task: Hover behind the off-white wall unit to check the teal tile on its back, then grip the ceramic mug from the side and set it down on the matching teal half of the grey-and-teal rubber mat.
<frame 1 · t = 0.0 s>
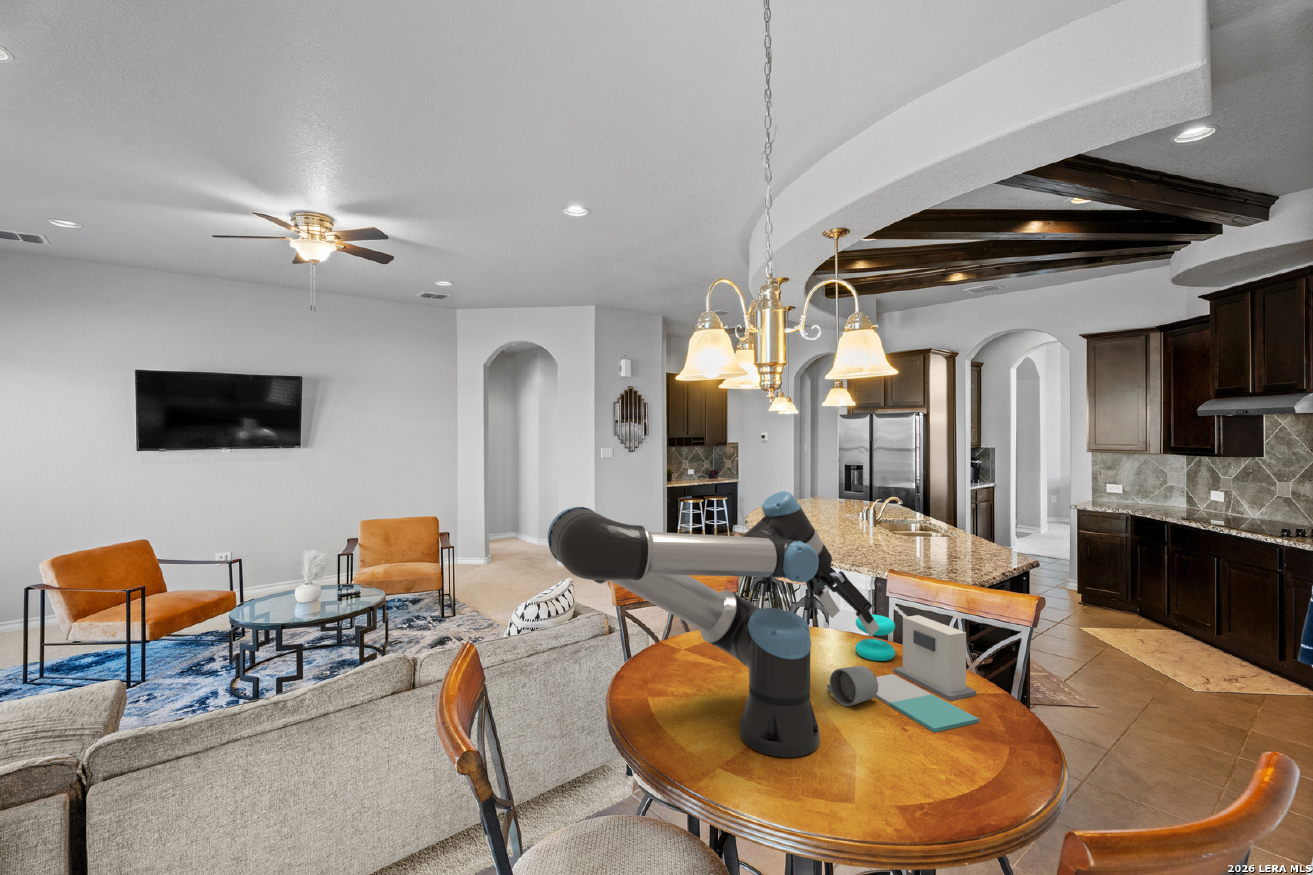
hand: (854, 622, 134), 15 cm above the table, tool tilted 35°, fingers open, 13 cm apart
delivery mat: (911, 701, 127), on the table
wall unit: (933, 683, 137), on the table
ceramic mug: (848, 700, 129), on the table
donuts: (875, 656, 155), on the table
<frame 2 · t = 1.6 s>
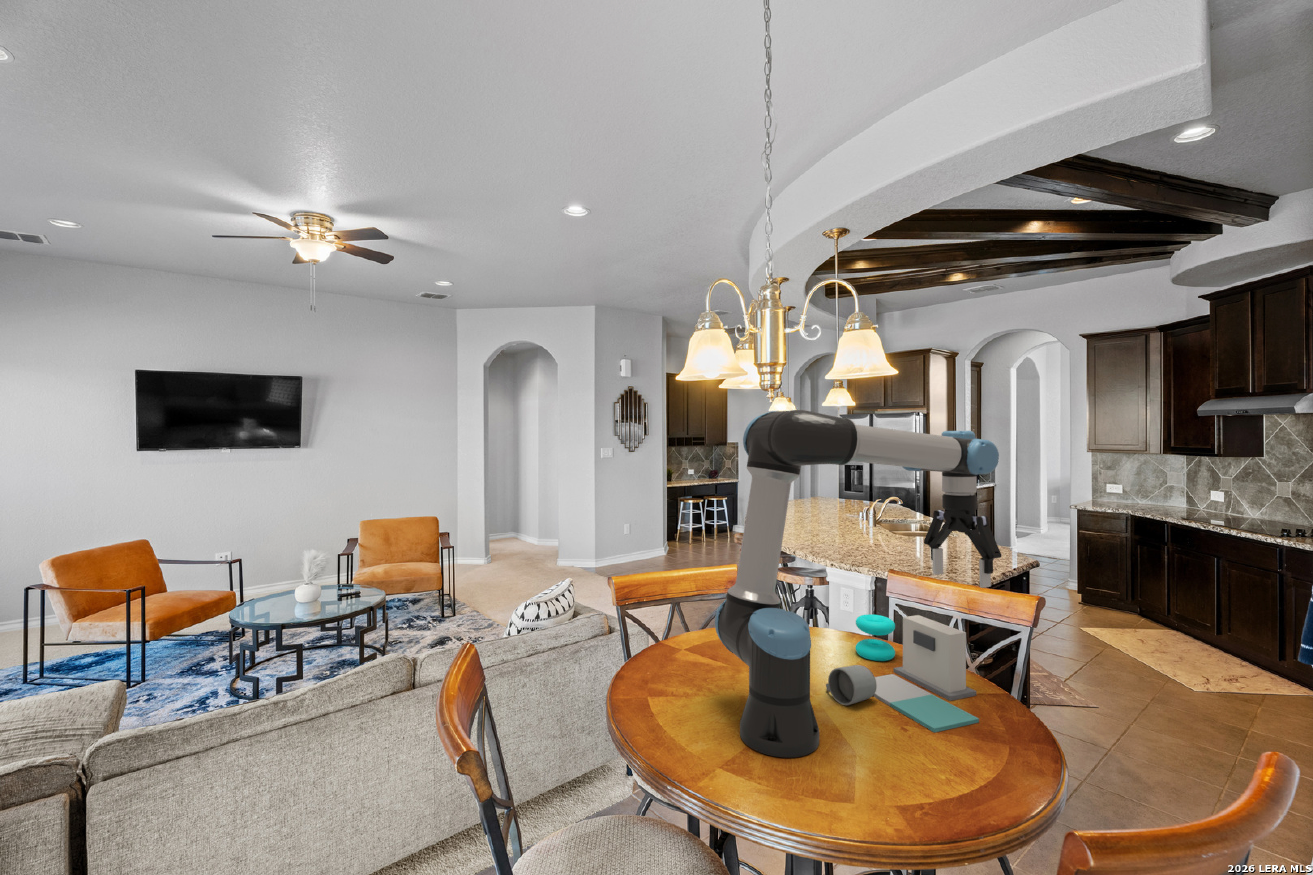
hand: (960, 580, 141), 24 cm above the table, tool pointing down, fingers open, 13 cm apart
nothing on the table moved.
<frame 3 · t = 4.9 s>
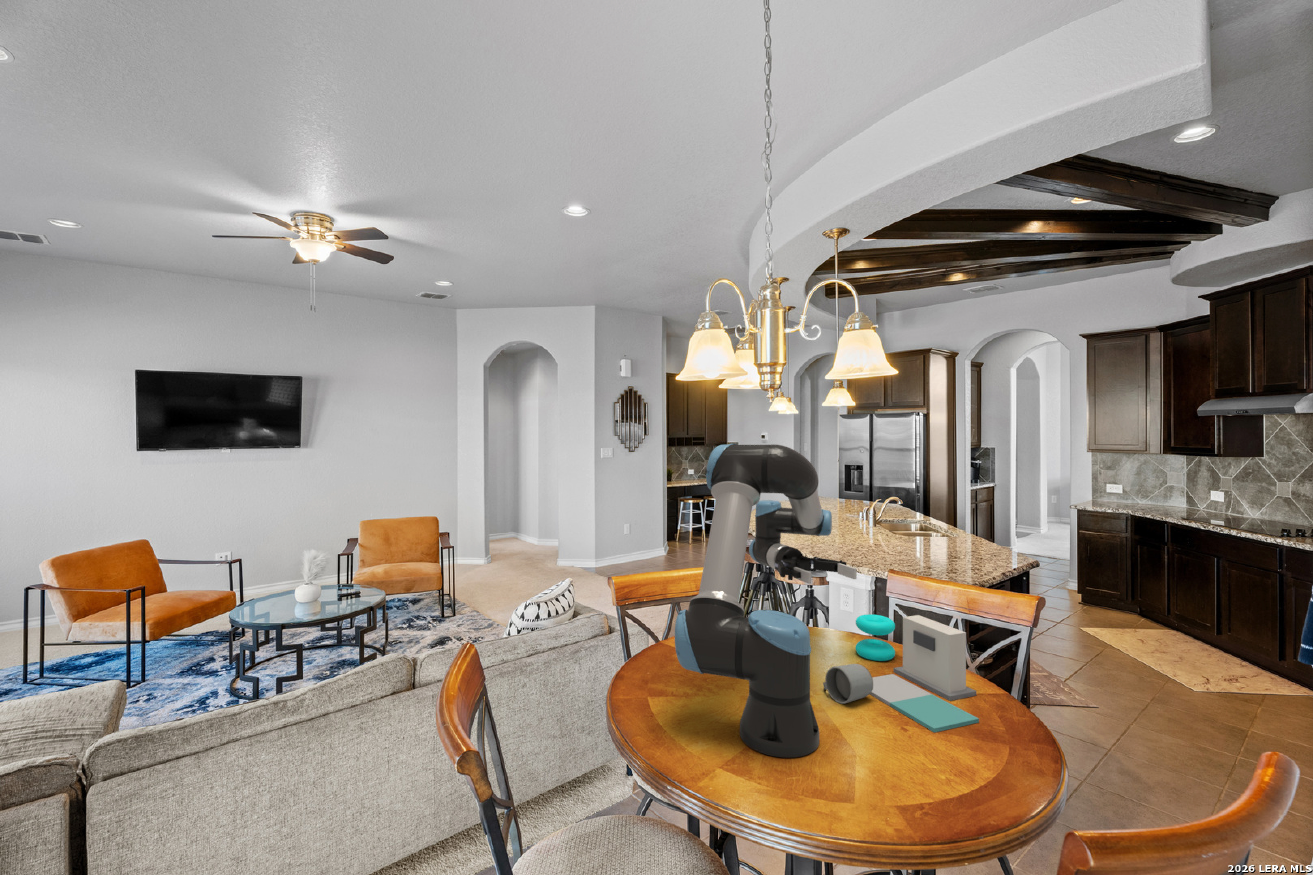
hand: (833, 575, 144), 24 cm above the table, tool horizontal, fingers open, 13 cm apart
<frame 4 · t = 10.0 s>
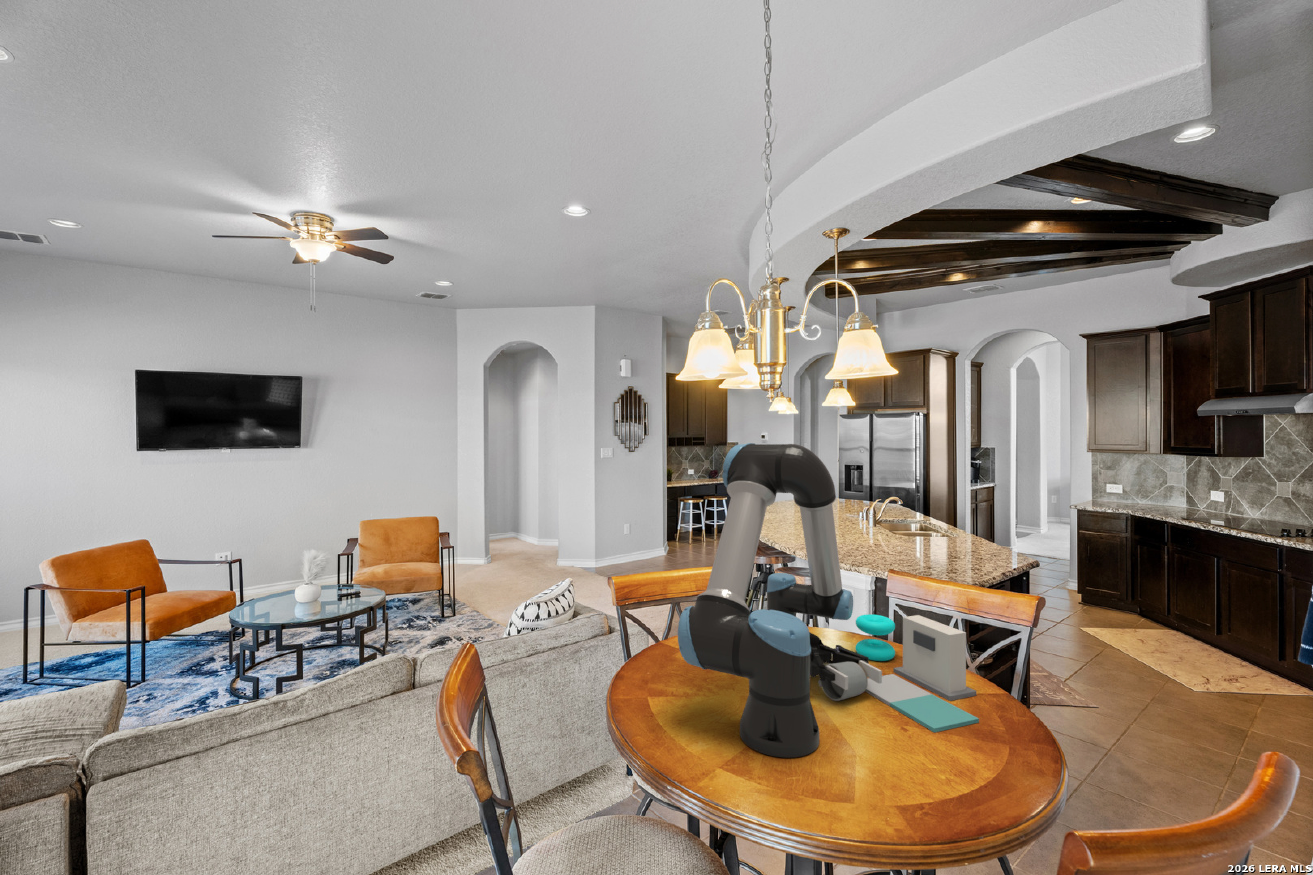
hand: (863, 680, 124), 6 cm above the table, tool horizontal, fingers closed on ceramic mug, 8 cm apart
ceramic mug: (838, 695, 131), on the table, touching gripper
everything else where it was.
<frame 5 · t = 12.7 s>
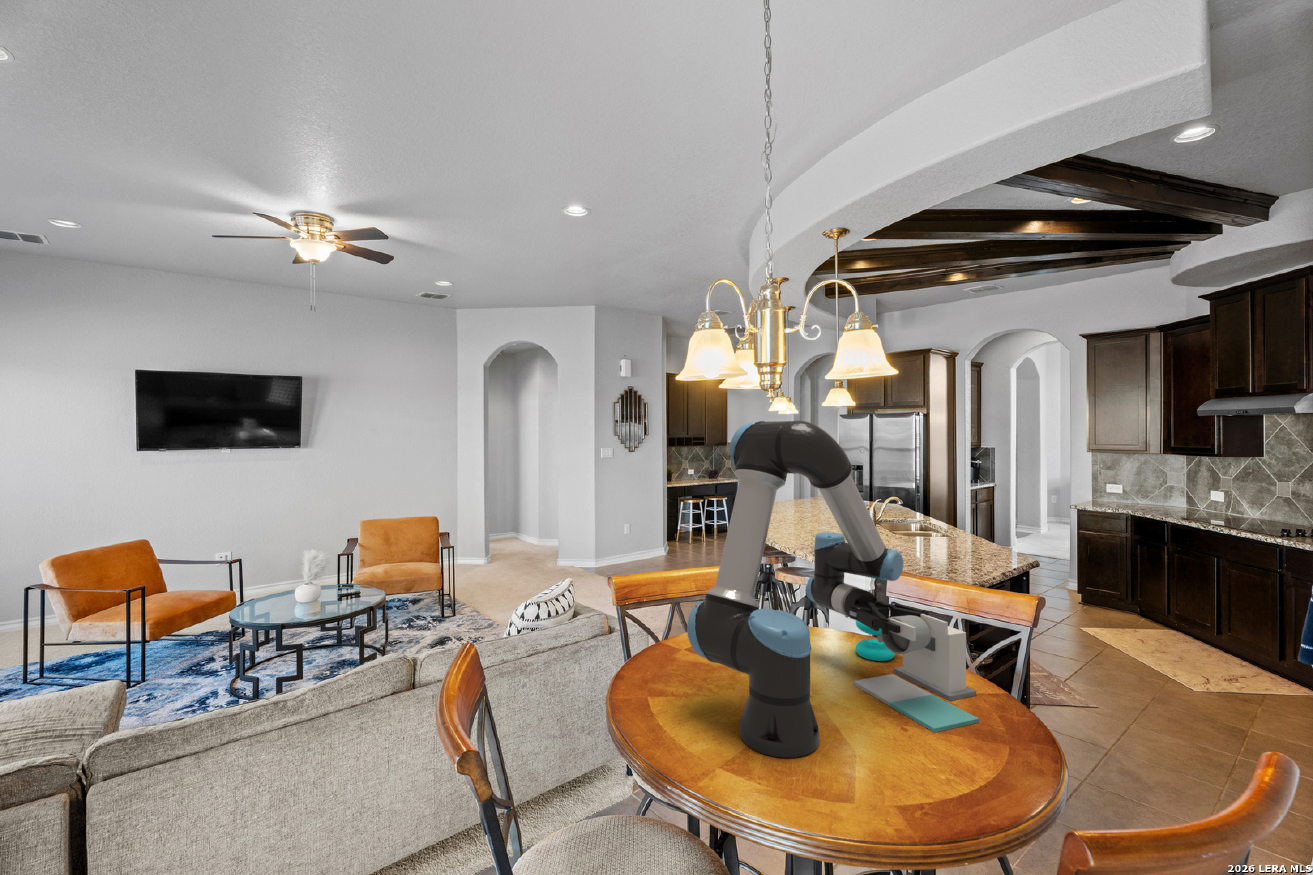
hand: (930, 631, 120), 18 cm above the table, tool horizontal, fingers closed on ceramic mug, 8 cm apart
ceramic mug: (900, 649, 127), point 12 cm above the table, touching gripper
everything else where it was.
when the fingers open (8 cm above the table, at t = 15.3 s): ceramic mug drops 1 cm, resting on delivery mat.
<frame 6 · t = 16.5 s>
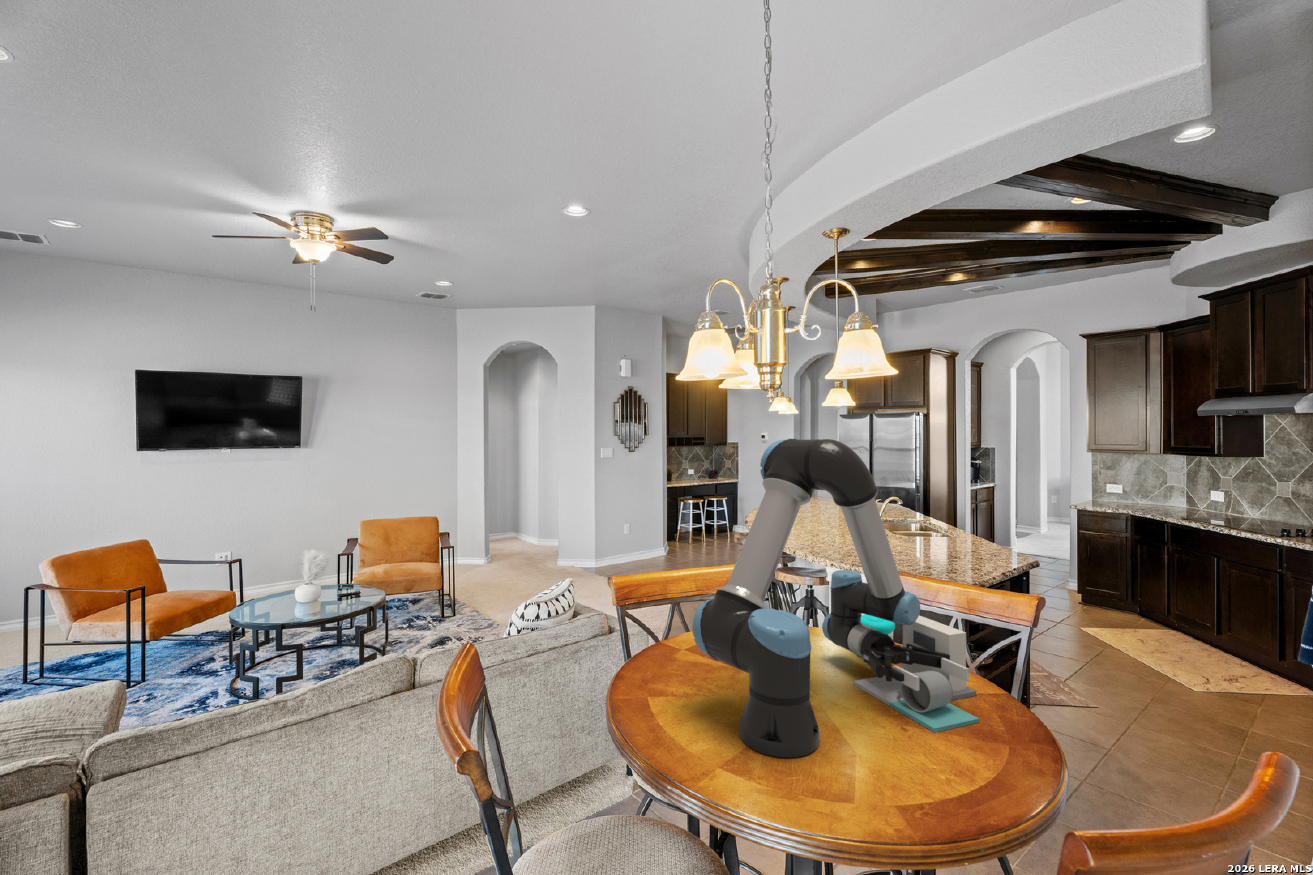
hand: (943, 679, 119), 8 cm above the table, tool horizontal, fingers open, 13 cm apart
ceramic mug: (920, 706, 124), point 1 cm above the table, touching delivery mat
everything else where it was.
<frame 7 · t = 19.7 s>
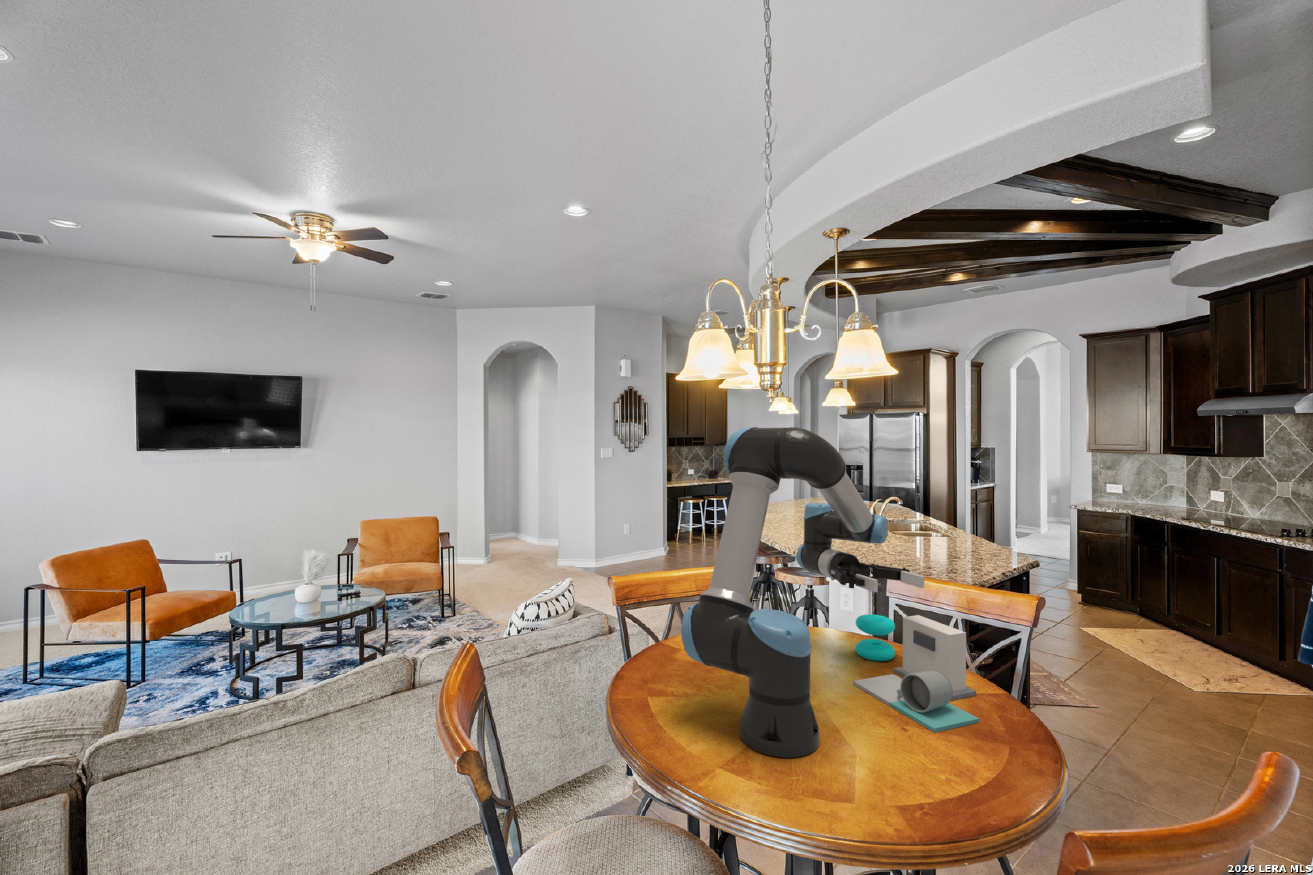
hand: (900, 584, 131), 25 cm above the table, tool horizontal, fingers open, 13 cm apart
nothing on the table moved.
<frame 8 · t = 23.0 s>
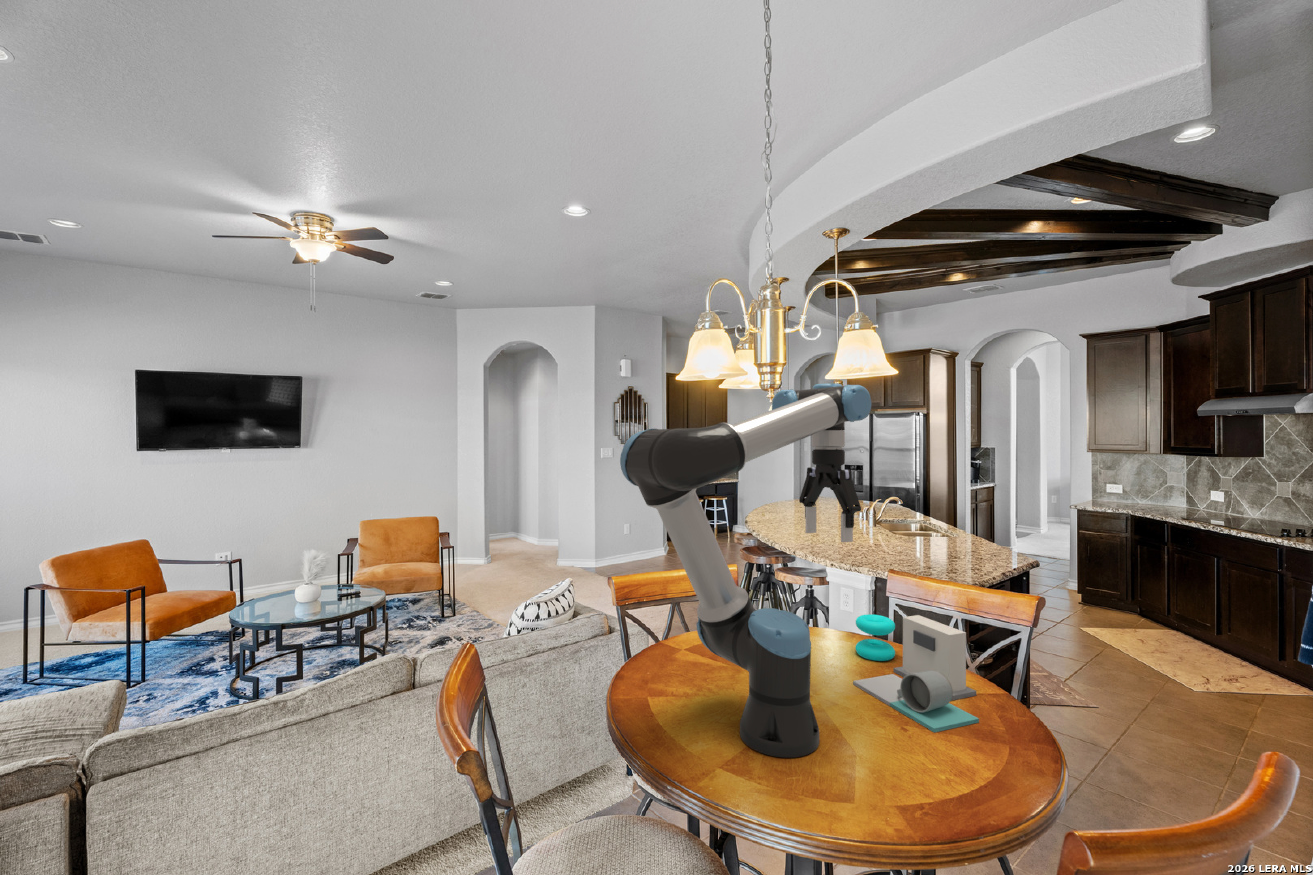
hand: (828, 537, 138), 35 cm above the table, tool pointing down, fingers open, 13 cm apart
nothing on the table moved.
at the end: ceramic mug inside the target area on the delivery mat (2.8 cm from its centre), point 0.6 cm above the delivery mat's base; ceramic mug tilted 1°; the gripper is holding nothing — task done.
